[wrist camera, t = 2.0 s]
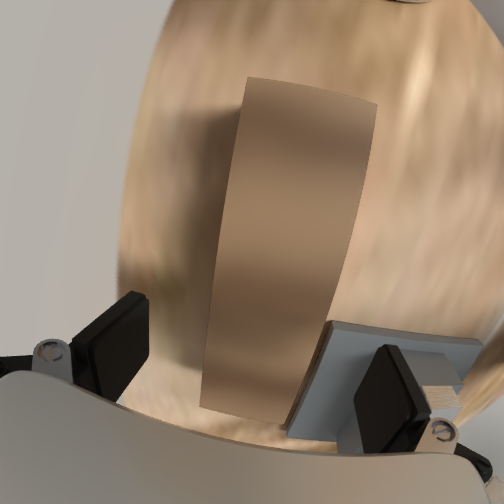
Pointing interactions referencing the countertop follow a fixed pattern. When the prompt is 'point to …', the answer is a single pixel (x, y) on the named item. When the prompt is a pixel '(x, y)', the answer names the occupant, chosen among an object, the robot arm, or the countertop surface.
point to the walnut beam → (281, 242)
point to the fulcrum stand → (355, 367)
